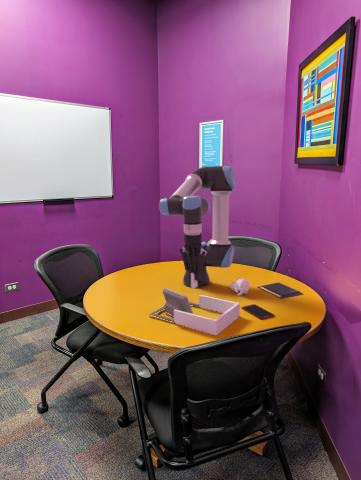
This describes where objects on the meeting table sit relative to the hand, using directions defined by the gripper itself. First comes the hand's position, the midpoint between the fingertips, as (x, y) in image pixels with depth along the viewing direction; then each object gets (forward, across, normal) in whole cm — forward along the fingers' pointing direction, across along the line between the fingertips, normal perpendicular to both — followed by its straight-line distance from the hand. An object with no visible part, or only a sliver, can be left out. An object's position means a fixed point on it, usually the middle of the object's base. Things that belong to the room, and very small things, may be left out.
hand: (194, 286), depth 148 cm
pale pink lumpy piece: (+15, +4, +36) cm, 39 cm away
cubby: (+14, +6, -1) cm, 15 cm away
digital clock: (+14, -8, -2) cm, 16 cm away
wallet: (+15, +21, +50) cm, 56 cm away
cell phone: (+14, +22, +18) cm, 32 cm away
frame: (+14, -10, -1) cm, 17 cm away
